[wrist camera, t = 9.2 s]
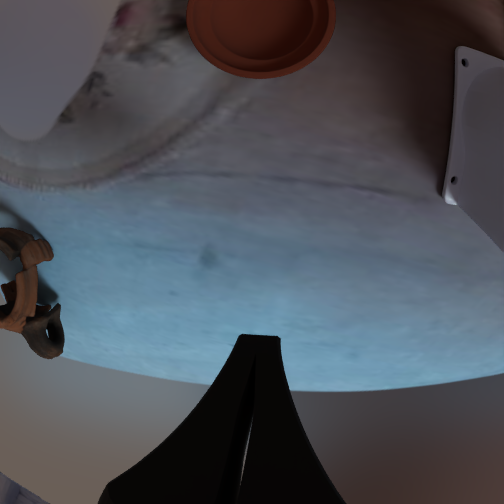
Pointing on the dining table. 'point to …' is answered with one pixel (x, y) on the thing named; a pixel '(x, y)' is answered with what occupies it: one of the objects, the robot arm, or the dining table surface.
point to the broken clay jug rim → (29, 295)
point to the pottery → (260, 34)
